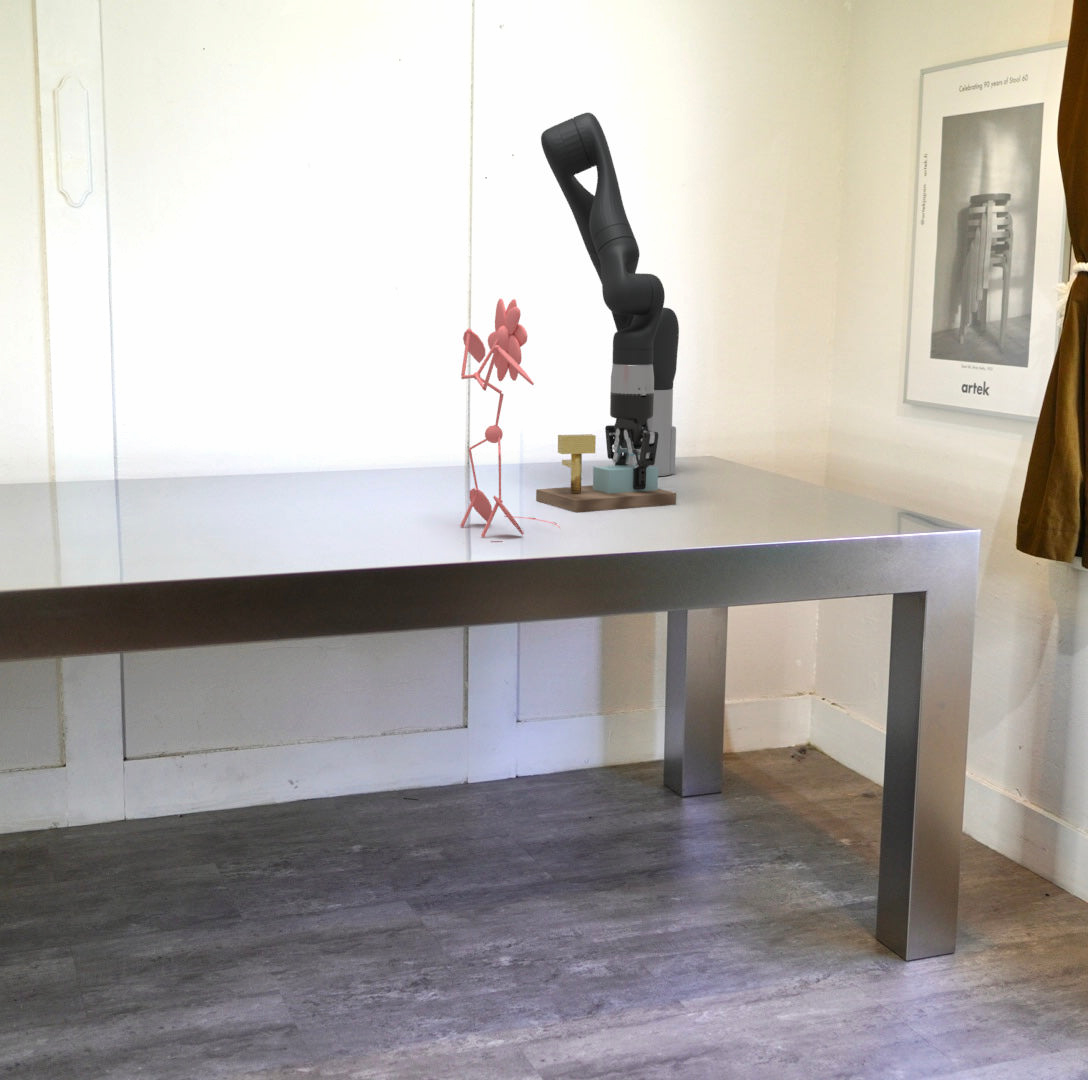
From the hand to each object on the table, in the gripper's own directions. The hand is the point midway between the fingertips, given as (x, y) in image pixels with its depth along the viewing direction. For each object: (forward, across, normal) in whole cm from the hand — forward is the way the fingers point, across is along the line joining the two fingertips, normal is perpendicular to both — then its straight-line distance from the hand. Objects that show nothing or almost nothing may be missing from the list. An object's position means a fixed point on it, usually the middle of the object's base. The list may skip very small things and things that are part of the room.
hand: (630, 486), depth 235 cm
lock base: (+2, 0, -5) cm, 6 cm away
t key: (0, -2, -10) cm, 11 cm away
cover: (0, 0, -1) cm, 1 cm away
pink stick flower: (+3, +17, -32) cm, 36 cm away
